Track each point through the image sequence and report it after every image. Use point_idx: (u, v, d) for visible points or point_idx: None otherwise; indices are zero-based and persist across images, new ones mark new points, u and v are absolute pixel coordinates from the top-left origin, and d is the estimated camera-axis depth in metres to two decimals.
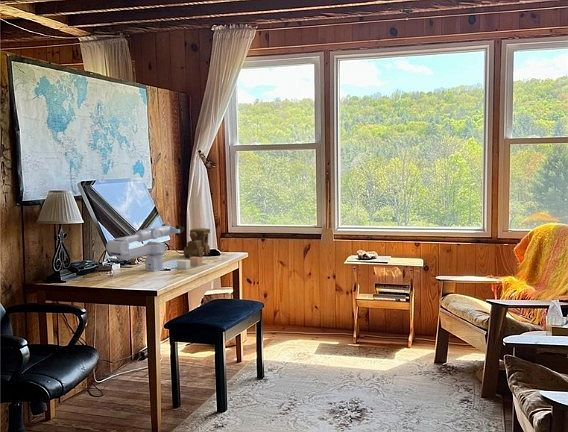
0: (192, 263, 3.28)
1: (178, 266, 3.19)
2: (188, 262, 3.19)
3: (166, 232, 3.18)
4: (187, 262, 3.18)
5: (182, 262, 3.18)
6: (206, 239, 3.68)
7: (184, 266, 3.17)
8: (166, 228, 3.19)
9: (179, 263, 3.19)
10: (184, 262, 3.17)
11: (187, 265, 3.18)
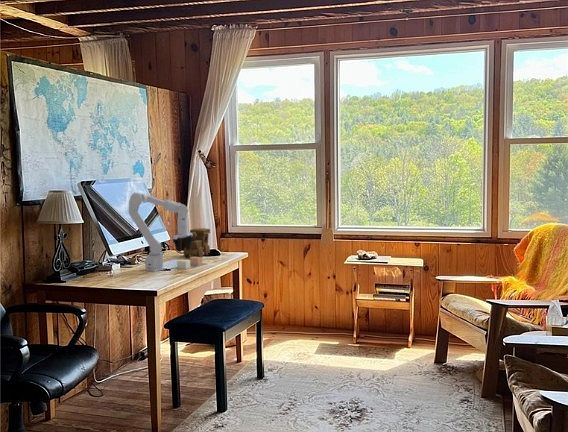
0: (192, 263, 3.28)
1: (178, 266, 3.19)
2: (188, 262, 3.19)
3: (179, 227, 3.16)
4: (187, 262, 3.18)
5: (182, 262, 3.18)
6: (206, 239, 3.68)
7: (184, 266, 3.17)
8: (182, 228, 3.15)
9: (179, 263, 3.19)
10: (184, 262, 3.17)
11: (187, 265, 3.18)
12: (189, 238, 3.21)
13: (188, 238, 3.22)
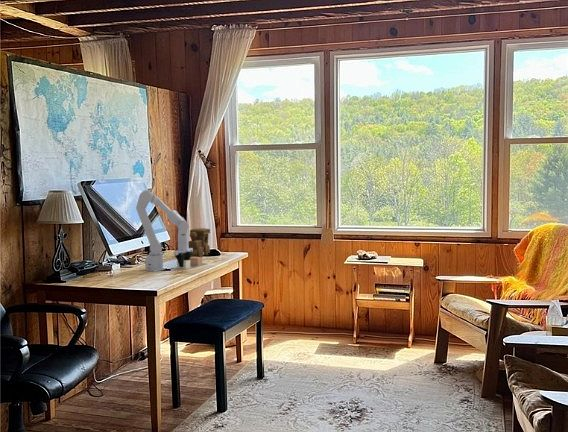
0: (192, 263, 3.28)
1: (178, 266, 3.19)
2: (188, 262, 3.19)
3: (179, 242, 3.17)
4: (187, 262, 3.18)
5: None
6: (206, 239, 3.68)
7: (184, 266, 3.17)
8: (183, 244, 3.16)
9: None
10: (184, 262, 3.17)
11: (187, 265, 3.18)
12: (188, 254, 3.21)
13: (187, 254, 3.21)
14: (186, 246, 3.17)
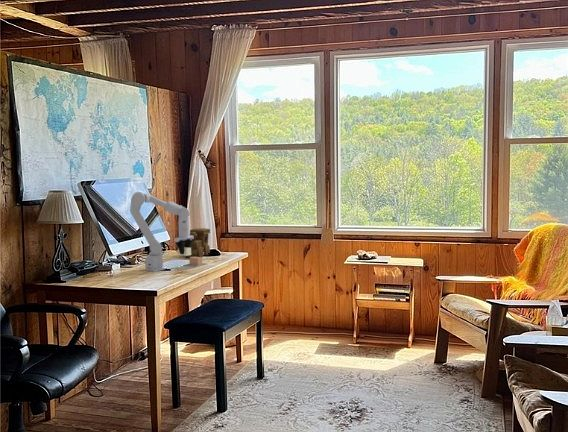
0: (192, 263, 3.28)
1: (179, 253, 3.19)
2: (189, 250, 3.19)
3: (180, 229, 3.17)
4: (188, 249, 3.18)
5: None
6: (206, 239, 3.68)
7: (185, 253, 3.17)
8: (183, 231, 3.16)
9: None
10: (185, 249, 3.17)
11: (188, 252, 3.18)
12: (188, 241, 3.21)
13: (187, 241, 3.21)
14: (187, 233, 3.17)
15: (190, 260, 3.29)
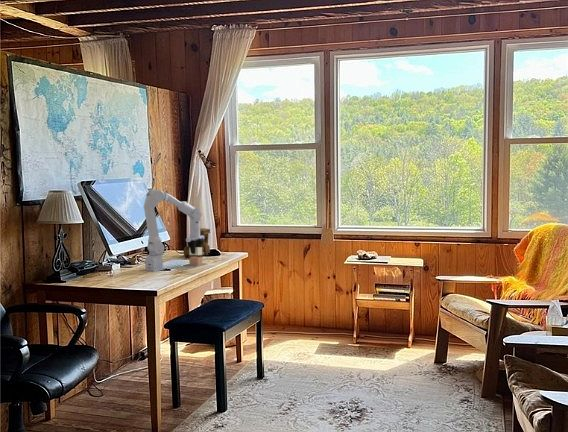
0: (192, 263, 3.28)
1: (190, 253, 3.28)
2: (200, 249, 3.28)
3: (191, 230, 3.26)
4: (199, 249, 3.27)
5: None
6: (206, 239, 3.68)
7: (196, 253, 3.26)
8: (195, 231, 3.25)
9: None
10: (196, 249, 3.26)
11: (199, 252, 3.27)
12: (199, 241, 3.30)
13: (198, 241, 3.30)
14: (198, 233, 3.26)
15: (190, 260, 3.29)
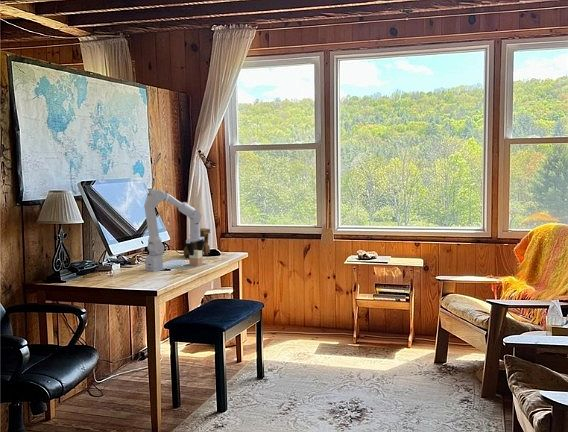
0: (192, 263, 3.28)
1: (190, 256, 3.28)
2: (200, 252, 3.28)
3: (191, 231, 3.26)
4: (199, 252, 3.27)
5: (194, 252, 3.27)
6: (206, 239, 3.68)
7: (196, 256, 3.27)
8: (195, 232, 3.25)
9: None
10: (196, 252, 3.26)
11: (199, 255, 3.27)
12: (201, 242, 3.31)
13: (200, 242, 3.32)
14: (198, 235, 3.26)
15: (190, 260, 3.29)
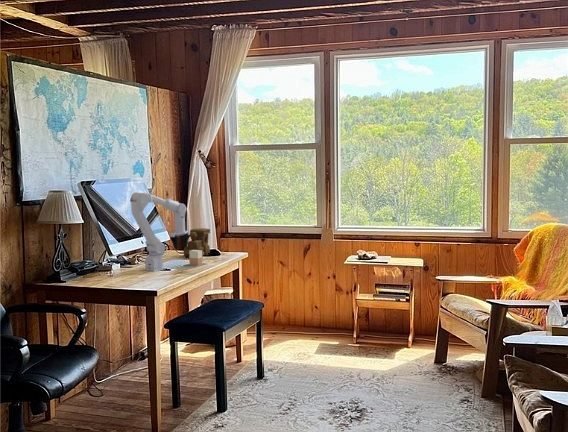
0: (192, 263, 3.28)
1: (190, 256, 3.28)
2: (200, 252, 3.28)
3: (176, 225, 3.23)
4: (199, 252, 3.27)
5: (194, 252, 3.27)
6: (206, 239, 3.68)
7: (196, 256, 3.27)
8: (179, 226, 3.23)
9: (191, 253, 3.28)
10: (196, 252, 3.26)
11: (199, 255, 3.27)
12: (186, 236, 3.28)
13: (185, 236, 3.29)
14: (183, 228, 3.24)
15: (190, 260, 3.29)
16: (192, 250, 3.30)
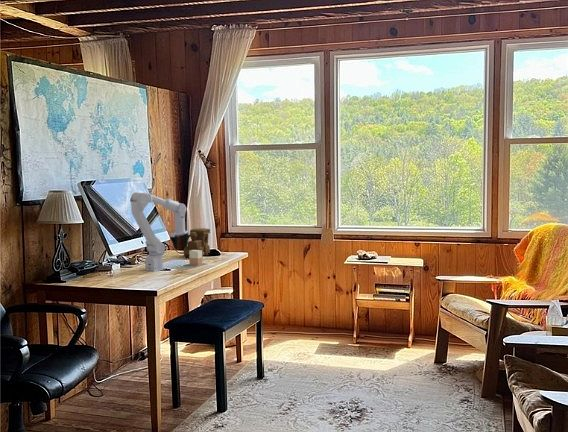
0: (192, 263, 3.28)
1: (190, 256, 3.28)
2: (200, 252, 3.28)
3: (176, 225, 3.23)
4: (199, 252, 3.27)
5: (194, 252, 3.27)
6: (206, 239, 3.68)
7: (196, 256, 3.27)
8: (179, 226, 3.23)
9: (191, 253, 3.28)
10: (196, 252, 3.26)
11: (199, 255, 3.27)
12: (186, 236, 3.28)
13: (185, 236, 3.29)
14: (183, 228, 3.24)
15: (190, 260, 3.29)
16: (192, 250, 3.30)
